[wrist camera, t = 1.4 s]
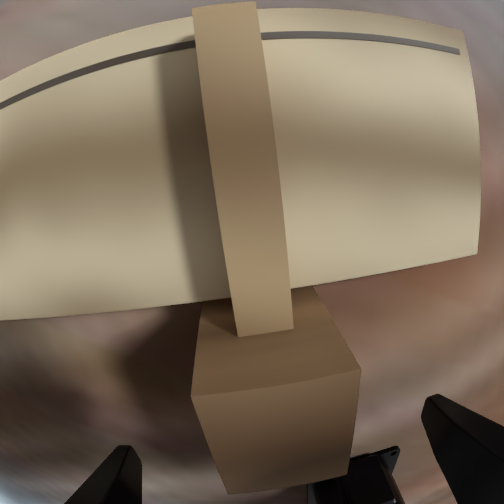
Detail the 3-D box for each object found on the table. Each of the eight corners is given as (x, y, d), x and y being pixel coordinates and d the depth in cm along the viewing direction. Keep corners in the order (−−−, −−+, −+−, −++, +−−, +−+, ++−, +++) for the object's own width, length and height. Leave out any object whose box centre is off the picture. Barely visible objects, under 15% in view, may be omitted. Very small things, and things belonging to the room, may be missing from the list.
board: (449, 239, 13) (477, 253, 11) (-29, 305, 12) (-50, 322, 10) (435, 41, 10) (463, 30, 8) (-65, 139, 9) (-91, 142, 7)
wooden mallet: (310, 372, 14) (346, 474, 9) (224, 385, 14) (228, 494, 8) (279, 41, 10) (326, -42, 4) (168, 54, 10) (120, -22, 4)
